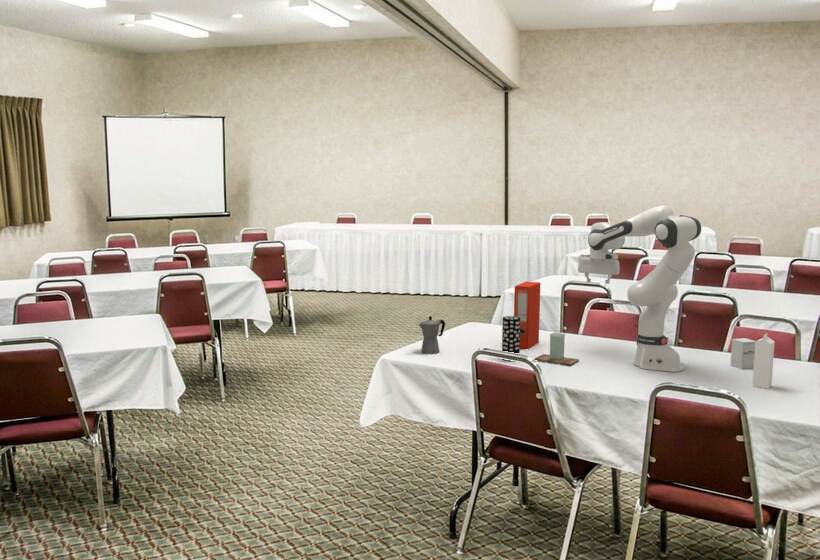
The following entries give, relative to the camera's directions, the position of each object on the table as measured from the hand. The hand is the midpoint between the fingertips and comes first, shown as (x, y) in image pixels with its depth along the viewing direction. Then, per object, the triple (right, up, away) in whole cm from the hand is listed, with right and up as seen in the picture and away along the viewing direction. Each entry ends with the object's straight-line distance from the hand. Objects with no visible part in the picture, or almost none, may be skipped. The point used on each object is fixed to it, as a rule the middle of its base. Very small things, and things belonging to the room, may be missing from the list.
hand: (598, 282), depth 362 cm
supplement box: (+59, -38, -27) cm, 75 cm away
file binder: (-33, -33, +16) cm, 49 cm away
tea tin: (-23, -36, -16) cm, 46 cm away
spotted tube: (-44, -37, -11) cm, 59 cm away
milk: (+53, -43, -57) cm, 89 cm away
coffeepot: (-82, -35, +4) cm, 89 cm away
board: (-24, -37, -16) cm, 47 cm away
